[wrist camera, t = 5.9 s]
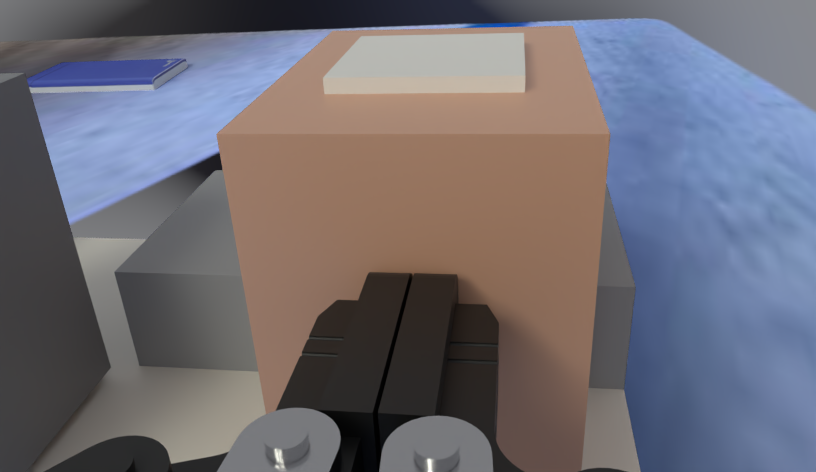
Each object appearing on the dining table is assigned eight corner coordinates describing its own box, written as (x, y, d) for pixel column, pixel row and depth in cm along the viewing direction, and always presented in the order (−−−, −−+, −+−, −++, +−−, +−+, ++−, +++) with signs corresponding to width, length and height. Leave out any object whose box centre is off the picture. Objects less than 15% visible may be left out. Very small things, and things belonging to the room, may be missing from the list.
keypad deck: (-193, 580, 19) (-330, 365, 16) (63, 323, 29) (12, 163, 26) (634, 664, 16) (672, 419, 13) (587, 344, 26) (601, 167, 23)
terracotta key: (281, 501, 15) (213, 115, 11) (357, 297, 22) (331, 18, 18) (576, 524, 14) (611, 113, 10) (556, 303, 21) (573, 13, 17)
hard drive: (185, 56, 69) (64, 60, 70) (151, 78, 62) (17, 82, 63) (188, 73, 70) (68, 76, 71) (155, 96, 63) (22, 99, 64)
